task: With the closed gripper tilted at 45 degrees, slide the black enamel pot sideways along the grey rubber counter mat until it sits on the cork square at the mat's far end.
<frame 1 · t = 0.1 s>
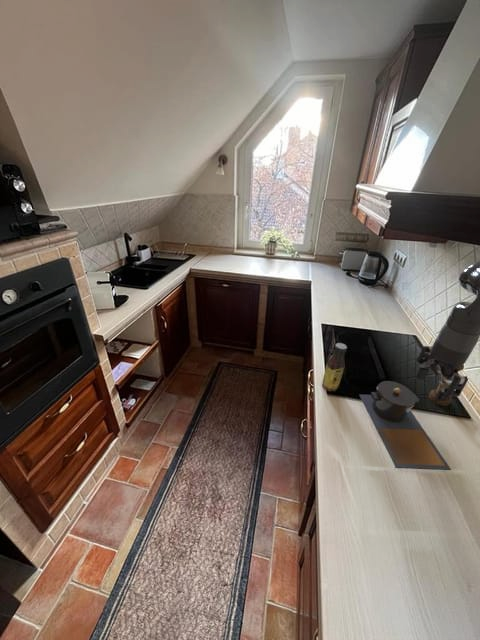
hand: (429, 389, 72), 21 cm above the worktop, tool pointing down, fingers open, 8 cm apart
wooden pepper mill: (438, 400, 97), on the worktop
mat: (398, 427, 86), on the worktop
sauce bottle: (329, 387, 101), on the worktop
pot: (388, 409, 91), resting on mat
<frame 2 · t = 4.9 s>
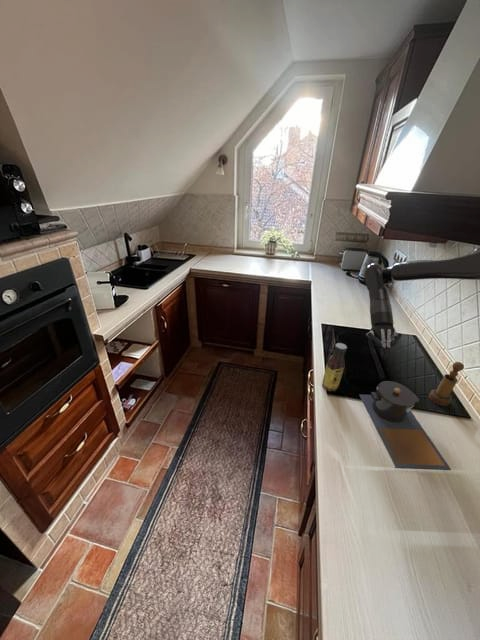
hand: (386, 358, 94), 15 cm above the worktop, tool tilted 45°, fingers closed
nothing on the worktop moved.
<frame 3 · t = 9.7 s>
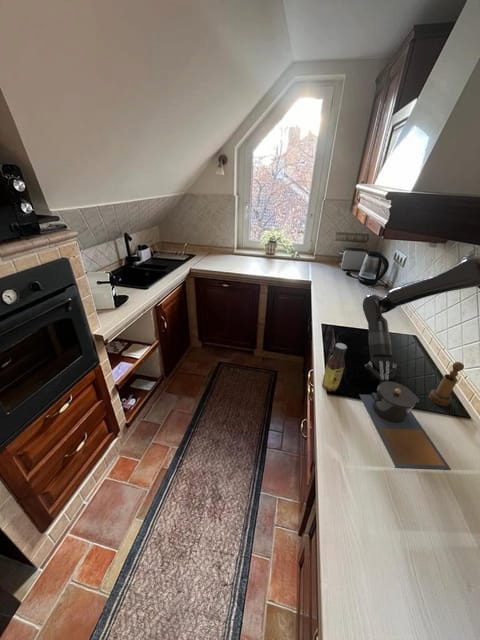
hand: (384, 390, 95), 4 cm above the worktop, tool tilted 45°, fingers closed
pot: (388, 410, 91), resting on mat, touching gripper
everything else where it was.
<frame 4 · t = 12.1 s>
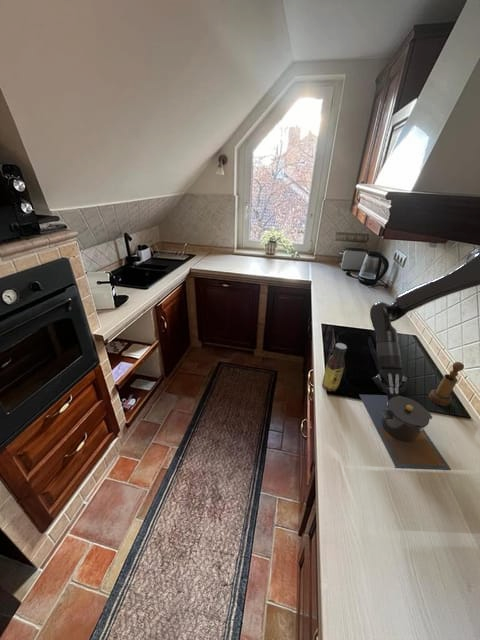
hand: (393, 405, 88), 4 cm above the worktop, tool tilted 45°, fingers closed
pot: (399, 427, 85), resting on mat, touching gripper
everything else where it was.
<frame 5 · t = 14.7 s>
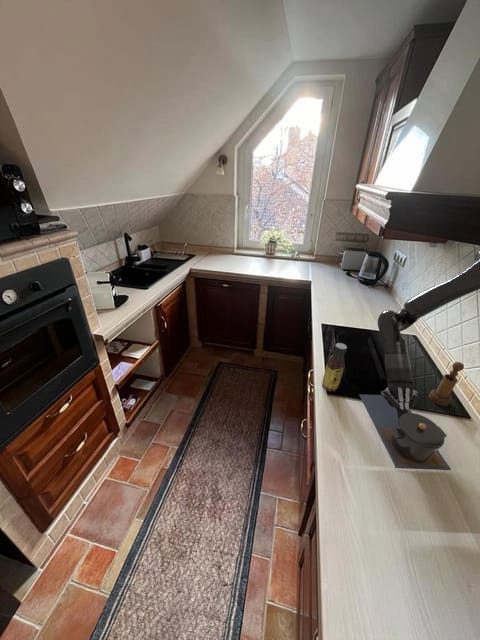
hand: (403, 421, 83), 4 cm above the worktop, tool tilted 45°, fingers closed
pot: (410, 446, 79), resting on mat, touching gripper
everything else where it was.
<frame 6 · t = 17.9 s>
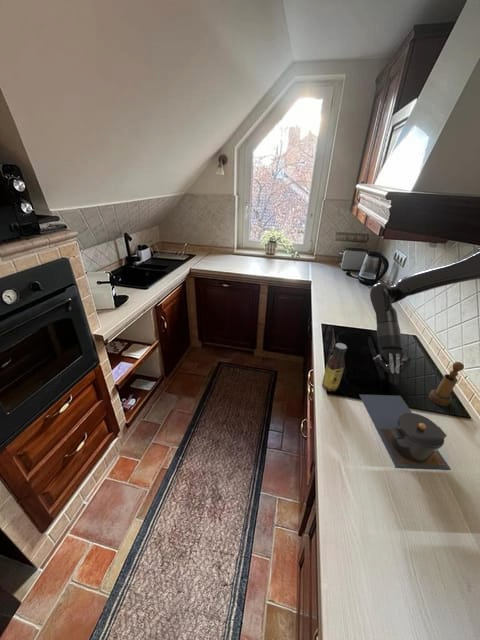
hand: (394, 384, 88), 11 cm above the worktop, tool tilted 45°, fingers closed
pot: (410, 446, 79), resting on mat
everything else where it was.
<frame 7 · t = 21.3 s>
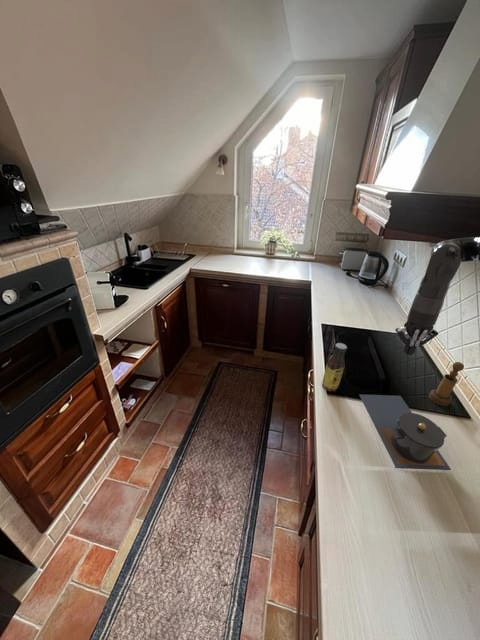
hand: (408, 353, 87), 21 cm above the worktop, tool pointing down, fingers closed
nothing on the worktop moved.
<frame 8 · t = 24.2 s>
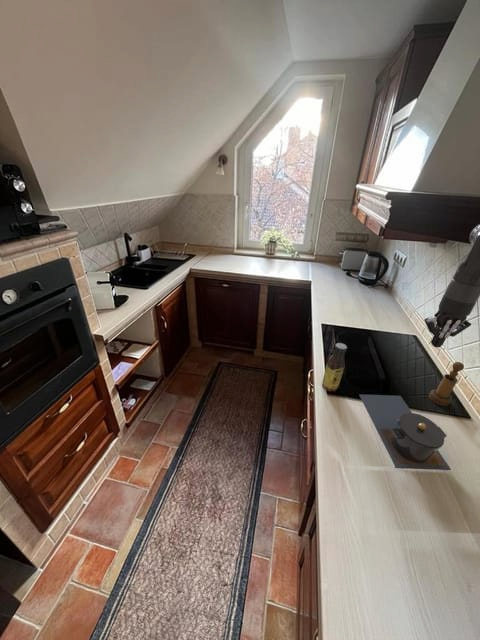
hand: (435, 345, 81), 27 cm above the worktop, tool pointing down, fingers closed
nothing on the worktop moved.
at the end: pot inside the target area (0.3 cm from its centre), resting on mat; pot tilted 0°; pot moved 14.2 cm from its start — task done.
